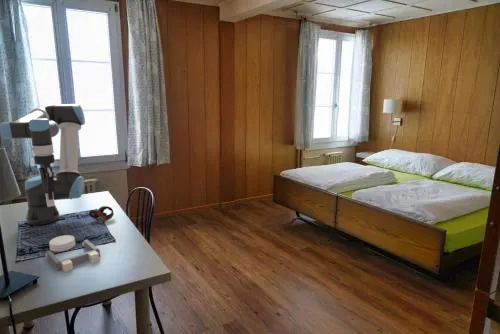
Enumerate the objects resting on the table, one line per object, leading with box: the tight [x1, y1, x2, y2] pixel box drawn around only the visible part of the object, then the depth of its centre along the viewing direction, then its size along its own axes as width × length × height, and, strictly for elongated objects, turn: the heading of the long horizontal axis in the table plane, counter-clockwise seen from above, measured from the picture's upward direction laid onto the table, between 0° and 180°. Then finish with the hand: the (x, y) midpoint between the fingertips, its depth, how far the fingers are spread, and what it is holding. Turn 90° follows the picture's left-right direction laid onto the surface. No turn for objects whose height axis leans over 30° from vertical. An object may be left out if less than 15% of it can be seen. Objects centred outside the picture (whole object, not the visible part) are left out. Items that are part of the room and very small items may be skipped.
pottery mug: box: [88, 205, 115, 224], centre depth 177 cm, size 12×10×8 cm
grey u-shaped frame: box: [45, 239, 101, 273], centre depth 138 cm, size 18×16×3 cm
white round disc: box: [48, 234, 76, 253], centre depth 148 cm, size 10×10×4 cm
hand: (51, 205), depth 151 cm, fingers closed
